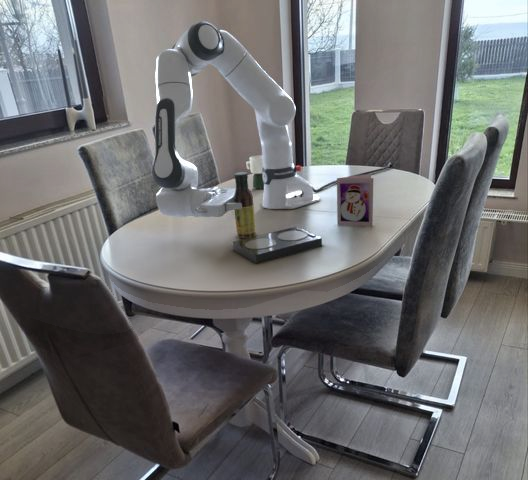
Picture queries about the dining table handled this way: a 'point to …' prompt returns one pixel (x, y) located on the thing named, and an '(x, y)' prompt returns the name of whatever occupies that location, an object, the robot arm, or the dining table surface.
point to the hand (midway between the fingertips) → (246, 202)
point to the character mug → (256, 170)
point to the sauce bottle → (244, 207)
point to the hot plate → (277, 244)
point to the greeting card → (355, 200)
